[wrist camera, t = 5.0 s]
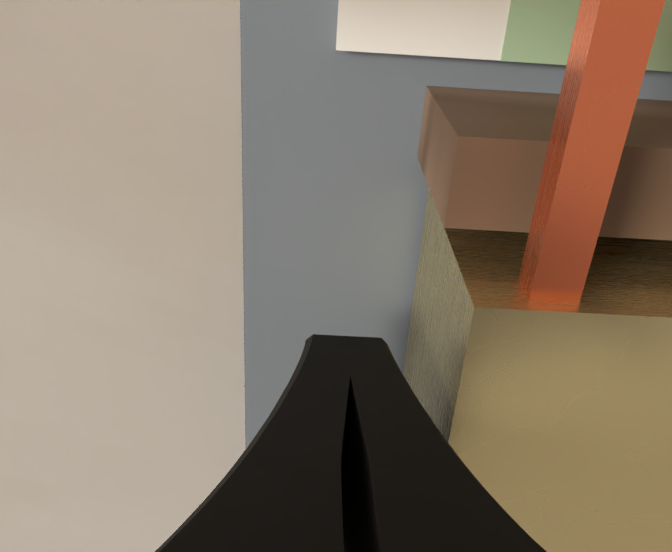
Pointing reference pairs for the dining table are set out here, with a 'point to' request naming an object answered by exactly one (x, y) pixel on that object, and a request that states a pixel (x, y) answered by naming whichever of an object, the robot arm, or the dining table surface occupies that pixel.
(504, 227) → the gauge housing
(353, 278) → the mat
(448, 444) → the robot arm
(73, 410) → the dining table surface
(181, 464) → the dining table surface
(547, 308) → the tan piece
